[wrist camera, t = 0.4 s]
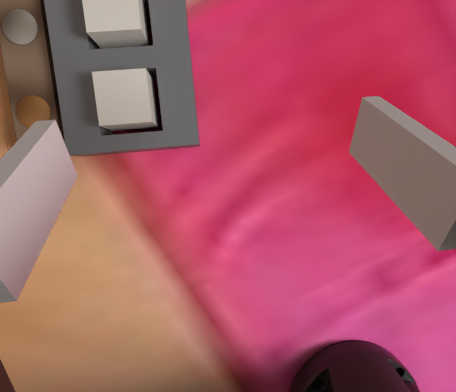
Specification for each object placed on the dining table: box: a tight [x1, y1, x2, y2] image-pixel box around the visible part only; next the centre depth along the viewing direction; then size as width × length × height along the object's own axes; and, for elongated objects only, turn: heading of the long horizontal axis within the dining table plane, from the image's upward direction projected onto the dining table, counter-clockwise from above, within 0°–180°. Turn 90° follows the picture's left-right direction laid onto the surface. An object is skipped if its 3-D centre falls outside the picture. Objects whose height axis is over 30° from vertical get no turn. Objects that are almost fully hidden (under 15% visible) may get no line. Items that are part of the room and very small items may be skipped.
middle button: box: [82, 0, 150, 49], centre depth 27 cm, size 4×4×4 cm
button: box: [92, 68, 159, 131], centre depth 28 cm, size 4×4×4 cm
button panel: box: [44, 0, 200, 156], centre depth 29 cm, size 24×12×4 cm, turn 5°
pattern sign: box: [0, 0, 65, 143], centre depth 29 cm, size 22×4×3 cm, turn 5°
